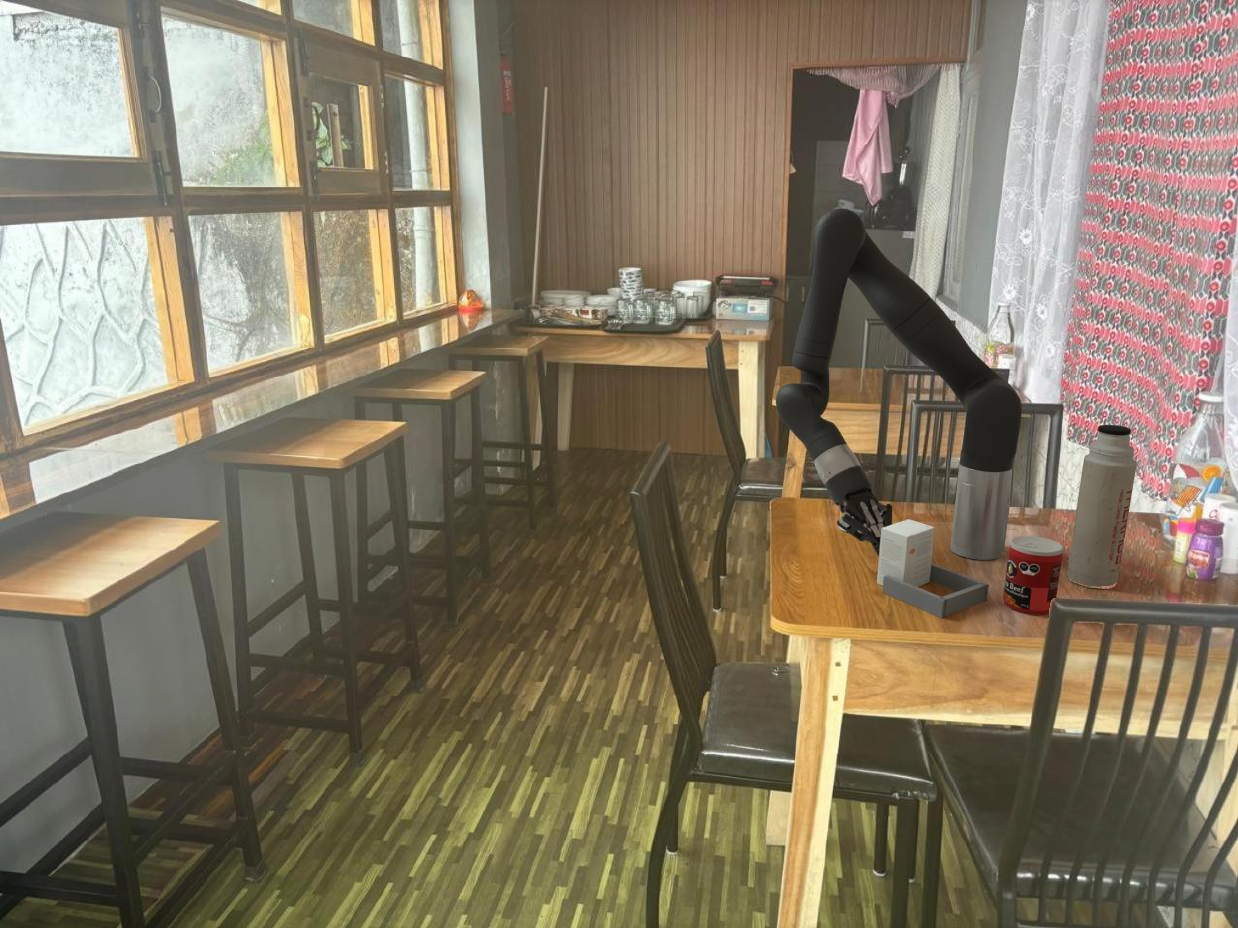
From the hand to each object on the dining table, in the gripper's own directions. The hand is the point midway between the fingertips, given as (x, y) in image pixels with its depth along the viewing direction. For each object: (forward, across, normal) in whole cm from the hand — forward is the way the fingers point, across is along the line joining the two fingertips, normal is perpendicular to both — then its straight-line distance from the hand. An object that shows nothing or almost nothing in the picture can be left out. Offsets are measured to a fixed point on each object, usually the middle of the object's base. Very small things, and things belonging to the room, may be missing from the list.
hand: (888, 557), depth 160 cm
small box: (+5, 0, 0) cm, 5 cm away
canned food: (+18, +10, -12) cm, 24 cm away
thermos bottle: (+18, +29, -12) cm, 36 cm away
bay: (+9, 0, -4) cm, 10 cm away
